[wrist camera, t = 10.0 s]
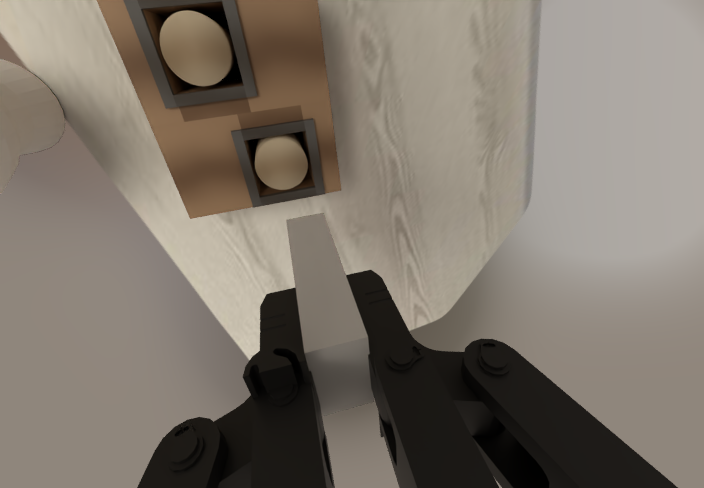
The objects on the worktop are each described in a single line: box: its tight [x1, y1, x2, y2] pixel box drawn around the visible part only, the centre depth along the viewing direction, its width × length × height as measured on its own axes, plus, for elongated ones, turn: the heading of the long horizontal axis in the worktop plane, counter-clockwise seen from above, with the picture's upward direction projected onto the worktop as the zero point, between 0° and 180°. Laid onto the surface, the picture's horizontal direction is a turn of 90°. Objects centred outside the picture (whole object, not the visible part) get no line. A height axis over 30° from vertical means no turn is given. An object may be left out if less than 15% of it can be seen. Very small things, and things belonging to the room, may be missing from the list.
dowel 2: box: [255, 132, 308, 190], centre depth 31 cm, size 4×4×8 cm
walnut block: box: [97, 0, 341, 219], centre depth 28 cm, size 16×14×8 cm
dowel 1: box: [160, 11, 237, 86], centre depth 25 cm, size 4×4×8 cm
